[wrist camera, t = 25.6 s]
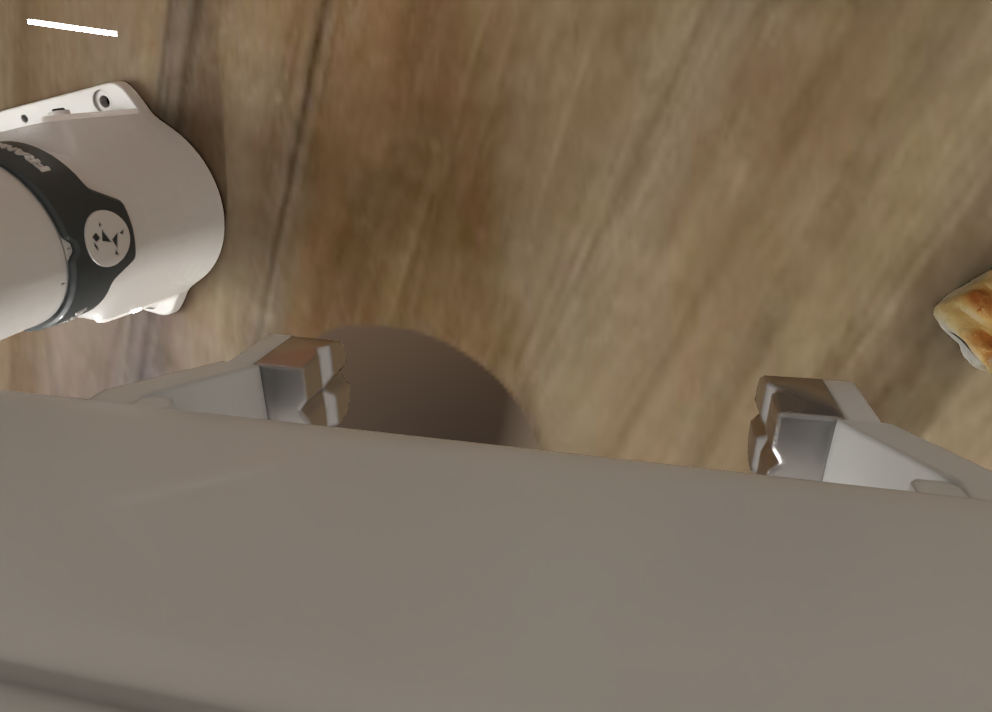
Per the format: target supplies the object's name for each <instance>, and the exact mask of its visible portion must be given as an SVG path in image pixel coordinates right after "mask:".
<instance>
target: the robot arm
mask: <svg viewBox="0 0 992 712" xmlns="http://www.w3.org/2000/svg"><path fill="white" fill-rule="evenodd" d="M27 22H28V24H31V25H38V26H45V27H52V28H59V29H66V30H73V31H79V32H86V33H93V34H100V35H107V36H117V31H110V30H104V29H97V28H90V27H83V26H76V25H69V24H62V23H55V22H48V21H41V20H33V19H27ZM107 98H108V99H109V102H110V105H108V103H107ZM224 230H225V221H224V211H223V206H222V201H221V197H220V194H219V191H218V188H217V186H216V183H215V181H214V179H213V176H212V174H211V173H210V171H209V169H208V167H207V166H206V164H205V162H204V161H203V159H202V158H201V157H200V155H199V154H198V153H197V151H196V150H195V149H194V148H193V147H192V146H191V145H190V143H189V142H188V141H187V140H186V139H184V138H183V137H182V136H181V135H180V134H179V133H177V132H176V131H175V130H174V129H172V128H171V127H169V126H168V125H166V124H165V123H164V122H162V121H161V120H160V119H158V118H157V117H156V116H155V115H154V114H153V113H152V112H151V111H150V109H149V108H148V106H147V105H146V104H145V102H144V101H143V100H142V98H141V97H140V96H139V94H138V93H137V92H136V91H135V90H134V89H133V88H132V87H131V86H130V85H129V84H128V83H126V82H123V81H115V82H109V83H105V84H101V85H97V86H94V87H90V88H86V89H82V90H78V91H75V92H71V93H67V94H63V95H60V96H56V97H52V98H48V99H44V100H41V101H37V102H33V103H29V104H25V105H22V106H18V107H14V108H10V109H7V110H3V111H0V340H3V339H5V338H7V337H9V336H12V335H14V334H16V333H19V332H21V331H37V330H42V329H45V328H48V327H53V326H57V325H61V324H64V323H66V322H69V321H71V320H73V319H75V318H77V317H80V318H87V319H94V320H95V321H96V322H98V323H103V322H108V321H111V320H114V319H117V318H120V317H123V316H125V315H128V314H131V313H136V312H138V311H141V310H146V311H149V312H153V313H156V314H160V315H169V314H172V313H175V312H177V311H178V310H179V309H180V307H181V306H182V304H183V302H184V300H185V297H186V295H187V292H188V290H189V289H190V288H191V287H192V286H193V285H194V284H195V283H196V282H198V281H199V280H200V279H202V278H203V277H204V276H205V275H206V274H207V273H208V272H209V271H210V270H211V269H212V267H213V266H214V264H215V263H216V261H217V259H218V257H219V254H220V252H221V249H222V245H223V240H224ZM345 364H346V355H345V349H344V346H343V345H342V343H341V342H340V341H335V340H325V339H315V338H305V337H295V336H294V335H278V334H269V335H268V336H266V337H265V338H263V339H262V340H260V341H259V342H257V343H256V344H254V345H253V346H251V347H250V348H248V349H247V350H245V351H244V352H242V353H241V354H240V355H238V356H237V357H235V358H234V359H232V360H231V361H229V362H224V361H221V362H217V363H213V364H209V365H205V366H200V367H196V368H192V369H188V370H184V371H180V372H176V373H172V374H168V375H164V376H160V377H155V378H151V379H147V380H143V381H139V382H135V383H131V384H127V385H123V386H119V387H114V388H110V389H106V390H104V391H102V392H100V393H98V394H97V395H95V396H93V397H92V398H90V399H79V398H70V397H61V396H52V395H43V394H34V393H25V392H16V391H7V390H0V712H992V471H990V470H988V469H986V468H983V467H981V466H979V465H977V464H975V463H973V462H971V461H969V460H967V459H964V458H962V457H960V456H958V455H956V454H954V453H952V452H950V451H948V450H945V449H943V448H941V447H939V446H937V445H935V444H933V443H931V442H929V441H926V440H924V439H922V438H920V437H918V436H916V435H914V434H912V433H910V432H907V431H905V430H903V429H901V428H899V427H897V426H895V425H893V424H887V423H881V421H880V420H879V418H878V417H877V415H876V414H875V413H874V411H873V410H872V408H871V407H870V405H869V404H868V403H867V401H866V400H865V398H864V397H863V395H862V394H861V393H860V391H859V390H858V388H857V387H856V385H855V384H854V383H852V382H849V381H831V380H822V379H812V378H796V377H779V376H762V377H761V378H760V380H759V383H758V386H757V390H756V396H755V402H756V405H757V408H758V411H759V414H758V415H757V416H756V417H755V418H754V419H753V420H751V423H750V430H749V436H748V461H749V466H750V470H751V471H753V472H754V473H755V474H752V473H743V472H734V471H725V470H716V469H707V468H698V467H689V466H680V465H671V464H662V463H653V462H644V461H635V460H626V459H617V458H608V457H599V456H590V455H581V454H572V453H563V452H554V451H545V450H535V449H526V448H518V447H509V446H500V445H491V444H482V443H473V442H464V441H455V440H446V439H437V438H428V437H419V436H410V435H401V434H391V433H383V432H374V431H365V430H356V429H347V428H338V427H333V426H335V425H338V424H339V423H340V422H341V420H342V419H343V418H344V417H345V414H346V411H347V408H348V406H349V395H350V393H349V382H348V381H347V380H346V378H345V377H344V376H343V374H342V373H341V370H342V368H343V367H344V366H345Z"/></svg>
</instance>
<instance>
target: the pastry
mask: <svg viewBox="0 0 992 712" xmlns="http://www.w3.org/2000/svg"><path fill="white" fill-rule="evenodd" d="M933 315H934V317H935V318H936V320H937V321H938V323H939V325H940V326H941V328H942V329H943V330H944V332H946V333H947V334H948V335H949V336H950V337H951V338H952V339H954V340H955V341H956V342H957V343H959V345H960V348H961V352H962V354H963V356H964V358H966V359H967V360H968V361H969V363H970V364H971V365H973V366H974V367H975V368H977V369H979V370H982V371H984V372H986V373H989V374H992V270H989V271H987V272H985V273H983V274H982V275H980V276H978V277H976V278H974V279H972V280H971V281H970V282H968V283H966V284H965V285H963V286H962V287H959V288H957V289H956V290H954V291H952V292H950V293H949V294H948V295H947V296H945V297H944V299H943V300H942V301H940V302H939V304H938V305H937V306H935V308H934V312H933Z"/></svg>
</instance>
